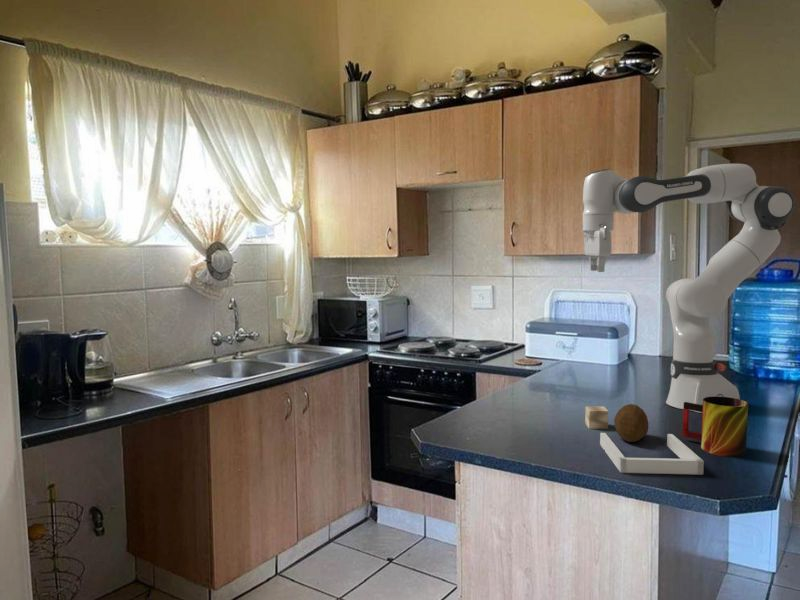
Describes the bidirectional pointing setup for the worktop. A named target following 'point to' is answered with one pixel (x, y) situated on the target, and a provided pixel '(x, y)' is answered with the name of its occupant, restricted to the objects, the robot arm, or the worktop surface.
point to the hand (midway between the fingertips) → (597, 271)
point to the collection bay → (655, 459)
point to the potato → (631, 423)
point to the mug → (720, 425)
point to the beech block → (596, 417)
